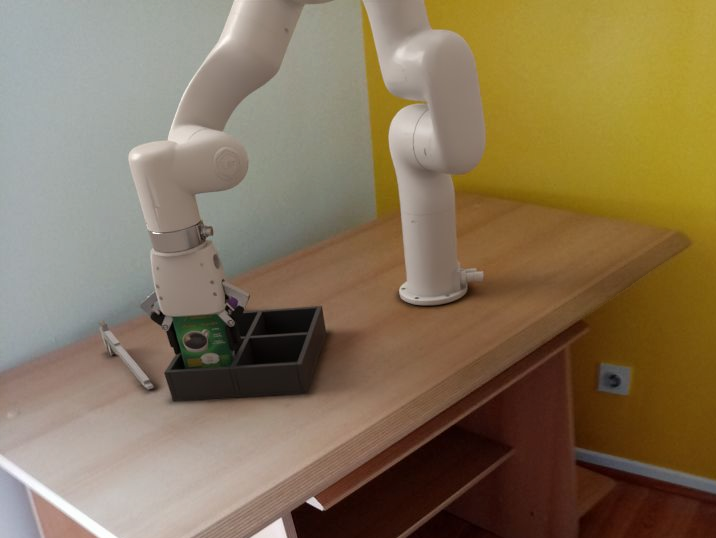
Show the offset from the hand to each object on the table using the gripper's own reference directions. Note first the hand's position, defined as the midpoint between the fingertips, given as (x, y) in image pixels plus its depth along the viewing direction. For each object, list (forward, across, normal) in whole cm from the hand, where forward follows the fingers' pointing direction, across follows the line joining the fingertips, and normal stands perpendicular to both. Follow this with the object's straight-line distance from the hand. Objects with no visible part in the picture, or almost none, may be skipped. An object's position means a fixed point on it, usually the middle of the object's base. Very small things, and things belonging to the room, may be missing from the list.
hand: (207, 348), depth 119 cm
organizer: (+6, -5, -5) cm, 9 cm away
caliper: (+6, +17, -6) cm, 19 cm away
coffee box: (+5, 0, 0) cm, 5 cm away
